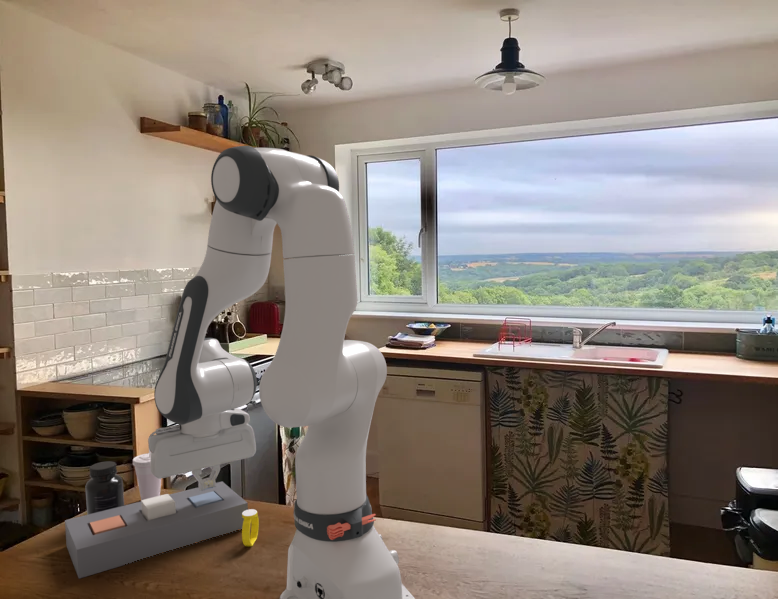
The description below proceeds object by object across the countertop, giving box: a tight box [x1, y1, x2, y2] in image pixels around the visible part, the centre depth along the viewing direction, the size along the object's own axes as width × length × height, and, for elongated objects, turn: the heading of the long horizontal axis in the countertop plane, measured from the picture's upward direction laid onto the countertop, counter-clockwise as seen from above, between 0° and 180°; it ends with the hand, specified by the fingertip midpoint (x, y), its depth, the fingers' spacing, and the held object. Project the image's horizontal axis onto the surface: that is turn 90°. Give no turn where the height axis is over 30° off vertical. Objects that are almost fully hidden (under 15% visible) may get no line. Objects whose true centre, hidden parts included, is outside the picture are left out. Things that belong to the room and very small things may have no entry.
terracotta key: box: [90, 515, 125, 535], centre depth 109 cm, size 5×5×4 cm
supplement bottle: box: [84, 461, 125, 515], centre depth 121 cm, size 7×7×12 cm
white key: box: [140, 493, 176, 521], centre depth 114 cm, size 5×5×4 cm
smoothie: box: [132, 437, 162, 501], centre depth 131 cm, size 6×6×14 cm
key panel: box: [64, 481, 249, 579], centre depth 114 cm, size 30×14×5 cm, turn 126°
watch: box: [241, 508, 260, 547], centre depth 111 cm, size 6×3×6 cm, turn 176°
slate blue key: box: [189, 491, 222, 508], centre depth 120 cm, size 5×5×4 cm
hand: (207, 488), depth 119 cm, fingers closed
